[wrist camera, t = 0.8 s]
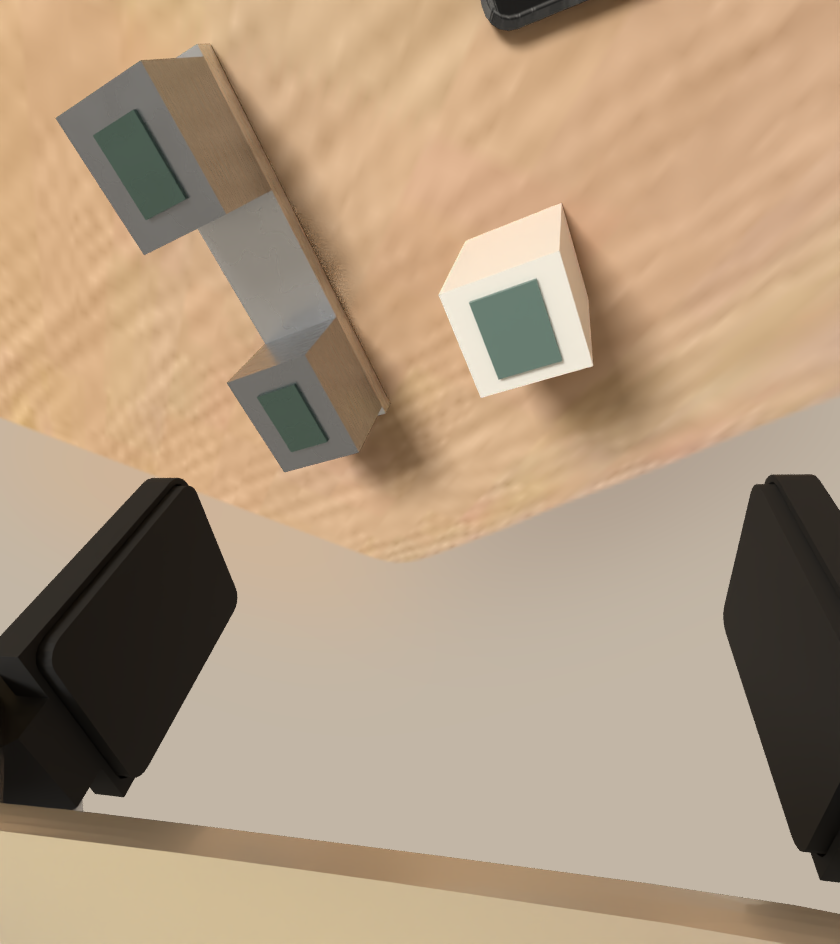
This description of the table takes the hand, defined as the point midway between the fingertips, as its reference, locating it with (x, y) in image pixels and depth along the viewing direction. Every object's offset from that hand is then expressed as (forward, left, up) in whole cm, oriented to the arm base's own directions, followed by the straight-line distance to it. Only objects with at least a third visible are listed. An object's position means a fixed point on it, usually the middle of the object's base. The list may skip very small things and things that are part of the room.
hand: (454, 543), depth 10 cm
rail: (+14, -2, -24) cm, 28 cm away
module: (+1, +3, -24) cm, 24 cm away
